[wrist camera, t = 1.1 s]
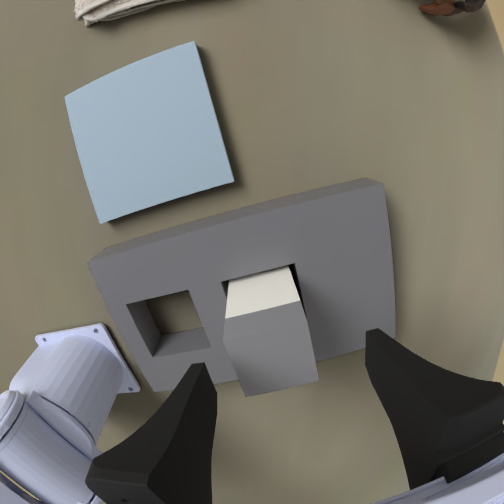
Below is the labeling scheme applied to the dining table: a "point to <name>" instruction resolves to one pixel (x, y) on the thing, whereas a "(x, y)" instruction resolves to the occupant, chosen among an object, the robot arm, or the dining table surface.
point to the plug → (268, 333)
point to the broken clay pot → (451, 7)
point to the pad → (148, 133)
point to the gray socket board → (253, 261)
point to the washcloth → (112, 9)
